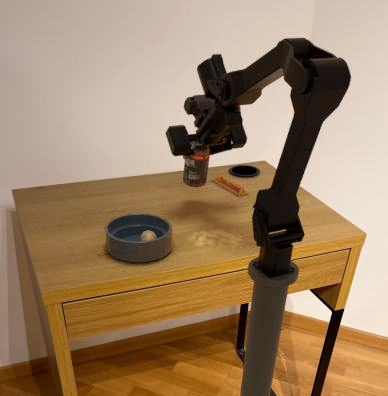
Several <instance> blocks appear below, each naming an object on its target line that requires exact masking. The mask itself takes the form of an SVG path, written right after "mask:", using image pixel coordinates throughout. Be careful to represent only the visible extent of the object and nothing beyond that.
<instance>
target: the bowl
mask: <svg viewBox="0 0 388 396" xmlns="http://www.w3.org/2000/svg"><path fill="white" fill-rule="evenodd" d="M147 230H150V231H152V232H154V233H155V235H156V237H157V239H154V240H149V241H140V236H141V234H142V233H143V232H144V231H147ZM104 232H105V233H104V234H105V244H106V251H107V252H108V253H109V255H110V256H112V257H113V258H115V259H118V260H119V261H120V260H121V261H124V262H128V263H129V262H130V263H147V262H152V261H158V260H160V259H162V258H164V257H166V256H167V255H169V253H171V251H172V248H173V226H172V223H171V222H170V221H169V220H168V219H167V218H164V217H162V216H160V215H155V214H151V213H143V212H140V213H128V214H122V215H119V216H116V217H114V218H112V219H110V220H109V221H108V222H107V223H106V224H105V226H104Z"/></svg>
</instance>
